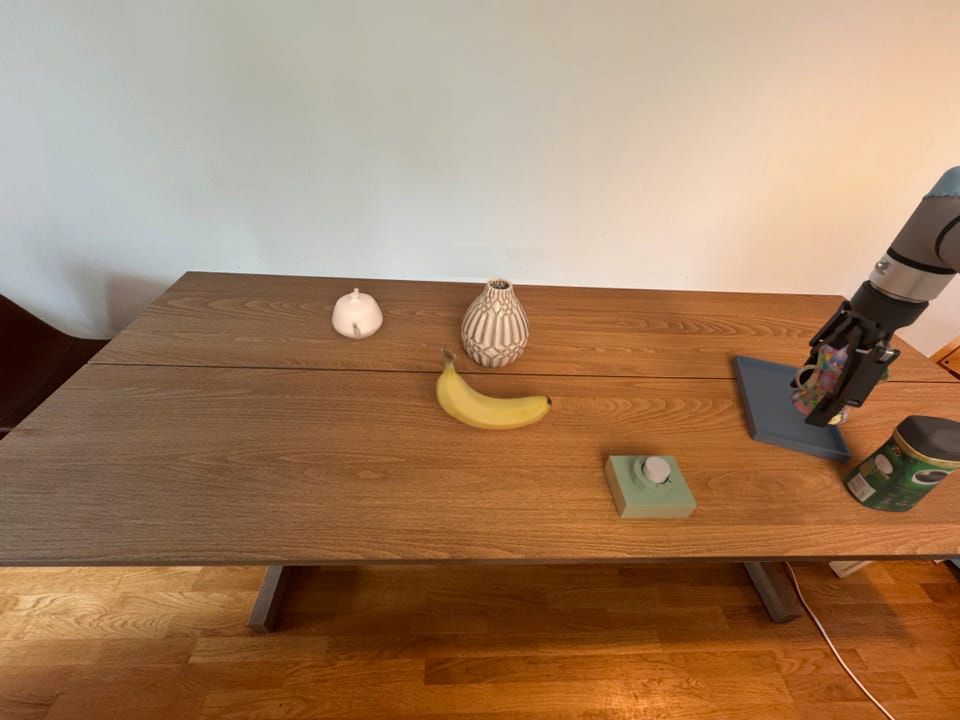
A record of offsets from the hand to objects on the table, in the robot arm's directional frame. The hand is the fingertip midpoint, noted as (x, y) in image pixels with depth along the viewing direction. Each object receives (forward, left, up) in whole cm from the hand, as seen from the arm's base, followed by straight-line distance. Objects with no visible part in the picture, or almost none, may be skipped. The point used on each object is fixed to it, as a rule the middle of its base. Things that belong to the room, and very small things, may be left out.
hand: (805, 404), depth 72 cm
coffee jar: (-1, -19, -16) cm, 25 cm away
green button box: (-15, +22, -16) cm, 31 cm away
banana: (-9, +52, -16) cm, 55 cm away
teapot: (+10, +93, -16) cm, 95 cm away
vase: (+12, +58, -16) cm, 61 cm away
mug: (0, 0, -1) cm, 1 cm away
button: (-15, +22, -10) cm, 29 cm away
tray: (+19, -8, -16) cm, 26 cm away
